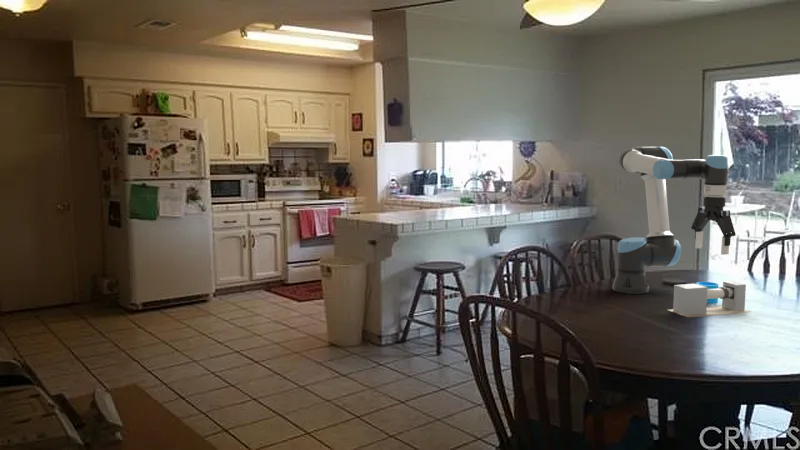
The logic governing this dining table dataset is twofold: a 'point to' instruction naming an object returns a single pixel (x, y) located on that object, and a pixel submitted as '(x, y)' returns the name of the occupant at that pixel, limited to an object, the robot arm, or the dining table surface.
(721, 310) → the mount board
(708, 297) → the tube
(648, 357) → the dining table surface
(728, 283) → the socket
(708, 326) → the dining table surface
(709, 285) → the mug
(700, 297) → the sleeve
